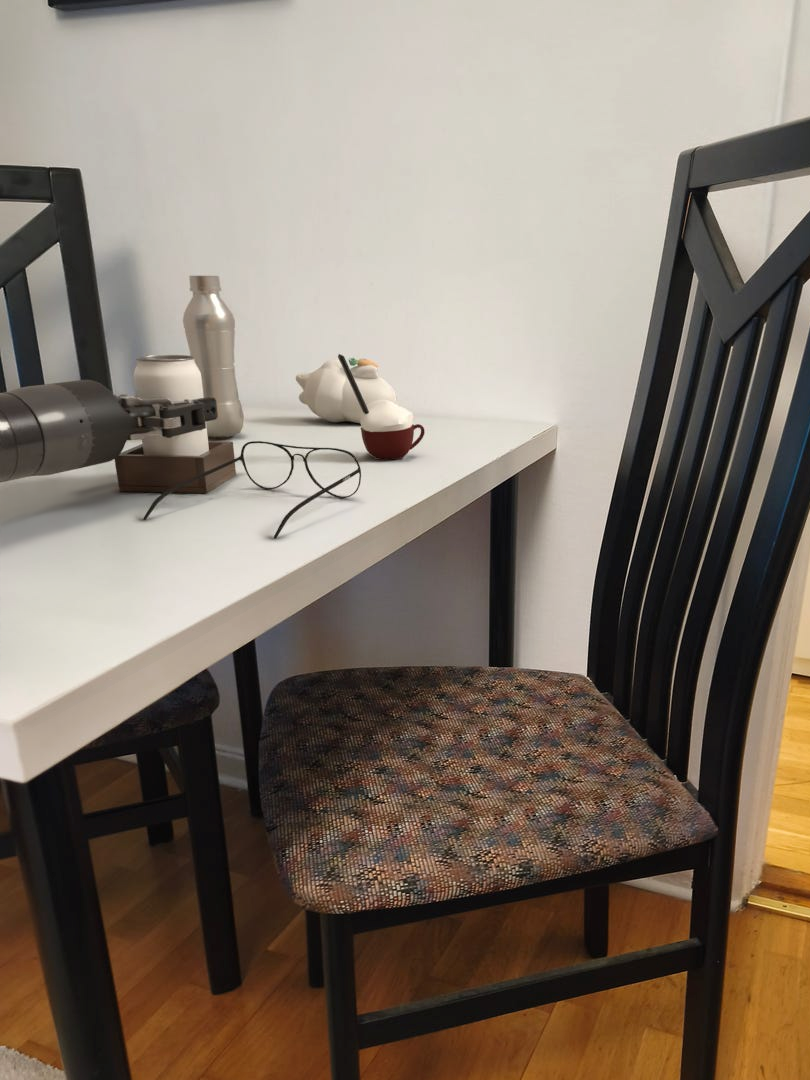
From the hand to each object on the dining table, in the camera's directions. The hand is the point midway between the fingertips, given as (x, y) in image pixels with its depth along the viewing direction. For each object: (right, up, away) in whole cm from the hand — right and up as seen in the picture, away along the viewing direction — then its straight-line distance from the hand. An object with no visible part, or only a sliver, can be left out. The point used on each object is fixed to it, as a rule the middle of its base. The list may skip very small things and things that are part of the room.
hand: (186, 405), depth 93 cm
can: (-1, -7, +1) cm, 8 cm away
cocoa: (+19, -2, +15) cm, 24 cm away
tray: (-1, -8, +1) cm, 8 cm away
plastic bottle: (-4, +3, +26) cm, 27 cm away
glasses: (+10, -12, -9) cm, 18 cm away
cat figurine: (+11, +8, +39) cm, 42 cm away
